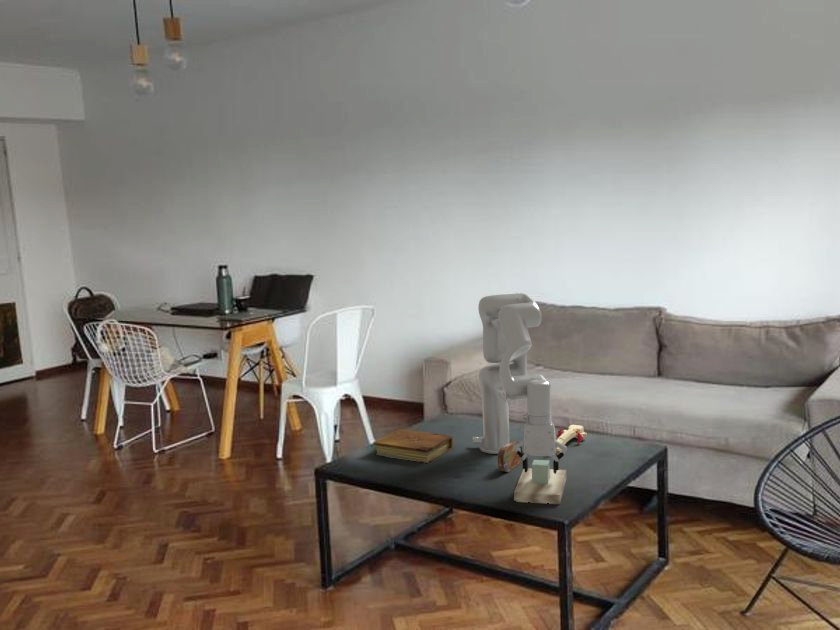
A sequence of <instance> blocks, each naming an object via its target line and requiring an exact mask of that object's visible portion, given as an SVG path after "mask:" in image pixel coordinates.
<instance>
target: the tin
mask: <svg viewBox="0 0 840 630" xmlns="http://www.w3.org/2000/svg"><path fill="white" fill-rule="evenodd" d="M519 442H520V441H510V442H509V443H508V444H507V445H505V446H504V447H502V448H501V449H500V450H499V453H498V454H497V464H498V470H499V471H501V472H505V473H510V472H511V471H513V470H514V469H515V468H516V467H518V466H519V465H520V464H521V462H522V461H523V460H522V459H521V457H519V456H518V455H517V453H516V451H515V450H514V448H513V446H514V445H515V444H517V443H519ZM519 449H520V450H521V451H522V452H523V446H521V447H519ZM512 469H513V470H512Z"/></svg>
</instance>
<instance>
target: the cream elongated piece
mask: <svg viewBox="0 0 840 630" xmlns="http://www.w3.org/2000/svg"><path fill="white" fill-rule="evenodd" d="M555 434H556V441H558V442H559V443H561V444H563V445H565V446H566V444H567V443H569V441H571V440H572V439H577V442H576V443H578V444H579V443H581V442H582V440H584V437H587V436H588V433H587V432H585V428H584V426H583V425H578V424H571V425H569V426H568V427H567V429H565V428H564V427H563V428H561V429H560V430H558V431H557V433H556V432H555ZM561 451H562V449H560V448H558V447H557V448H556V453H557V454H559V453H560V452H561Z"/></svg>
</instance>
